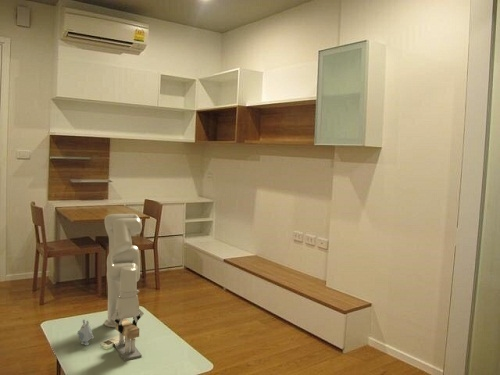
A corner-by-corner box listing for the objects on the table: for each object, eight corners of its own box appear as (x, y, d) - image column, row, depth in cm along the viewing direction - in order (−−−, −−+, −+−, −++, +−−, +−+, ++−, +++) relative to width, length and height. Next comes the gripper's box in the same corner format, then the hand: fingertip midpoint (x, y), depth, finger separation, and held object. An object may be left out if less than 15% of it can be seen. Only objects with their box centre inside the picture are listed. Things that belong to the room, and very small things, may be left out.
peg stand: (113, 343, 214) (113, 329, 213) (129, 340, 218) (129, 326, 218) (124, 360, 197) (124, 345, 196) (141, 357, 201) (142, 342, 200)
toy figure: (72, 344, 212) (72, 319, 211) (82, 339, 217) (82, 315, 216) (88, 349, 207) (88, 324, 206) (98, 344, 212) (98, 320, 211)
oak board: (115, 329, 210) (115, 321, 210) (125, 327, 214) (125, 319, 213) (129, 339, 200) (129, 330, 200) (139, 336, 204) (139, 328, 203)
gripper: (143, 289, 213) (142, 325, 215) (107, 293, 204) (106, 331, 206) (148, 293, 207) (147, 330, 208) (111, 298, 198) (110, 337, 199)
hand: (127, 330), depth 207 cm, fingers closed on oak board, 5 cm apart
